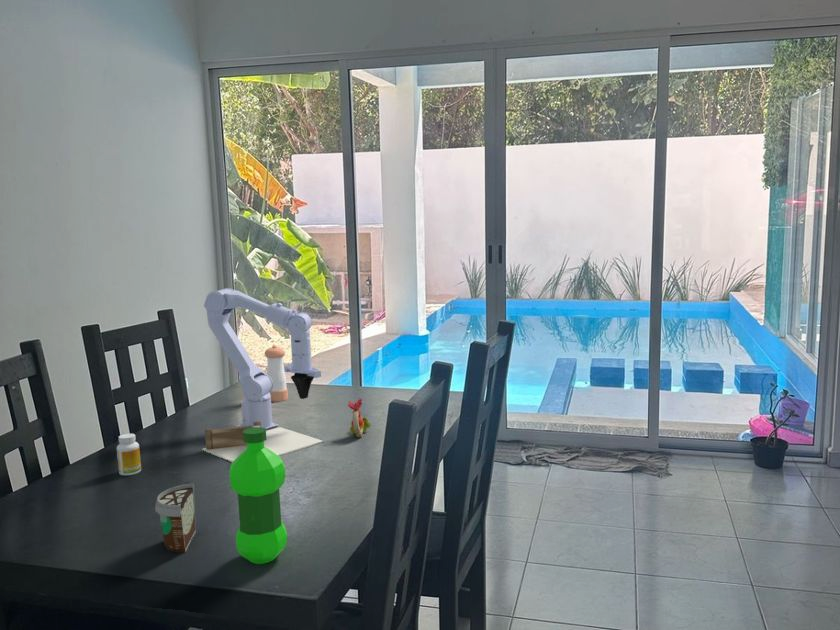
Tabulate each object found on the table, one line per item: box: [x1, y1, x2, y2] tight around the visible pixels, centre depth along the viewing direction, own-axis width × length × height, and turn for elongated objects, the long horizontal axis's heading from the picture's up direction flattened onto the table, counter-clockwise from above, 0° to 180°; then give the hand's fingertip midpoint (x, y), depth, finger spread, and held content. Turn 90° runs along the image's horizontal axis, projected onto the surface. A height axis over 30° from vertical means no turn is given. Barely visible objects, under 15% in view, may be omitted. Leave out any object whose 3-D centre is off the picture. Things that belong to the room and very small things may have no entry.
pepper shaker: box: [264, 344, 289, 403], centre depth 255 cm, size 7×7×19 cm
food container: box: [154, 483, 197, 553], centre depth 145 cm, size 12×6×10 cm, turn 5°
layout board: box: [201, 426, 324, 463], centre depth 205 cm, size 21×26×1 cm
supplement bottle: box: [116, 433, 142, 476], centre depth 186 cm, size 5×5×10 cm
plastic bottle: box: [228, 427, 288, 565], centre depth 137 cm, size 10×10×25 cm
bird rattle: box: [347, 398, 371, 439], centre depth 211 cm, size 6×11×9 cm
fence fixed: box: [204, 422, 261, 450], centre depth 204 cm, size 2×15×6 cm, turn 106°
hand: (303, 398), depth 219 cm, fingers closed
